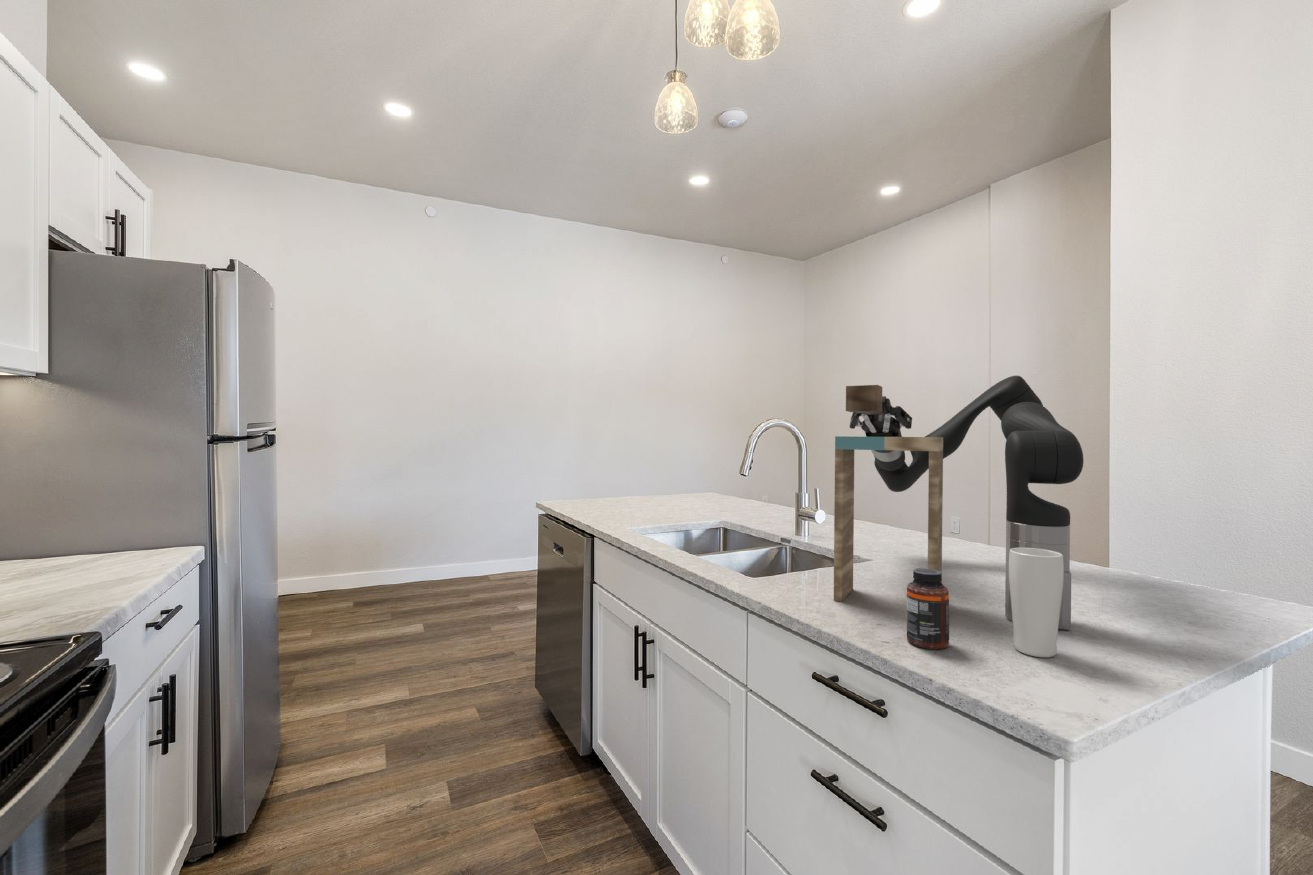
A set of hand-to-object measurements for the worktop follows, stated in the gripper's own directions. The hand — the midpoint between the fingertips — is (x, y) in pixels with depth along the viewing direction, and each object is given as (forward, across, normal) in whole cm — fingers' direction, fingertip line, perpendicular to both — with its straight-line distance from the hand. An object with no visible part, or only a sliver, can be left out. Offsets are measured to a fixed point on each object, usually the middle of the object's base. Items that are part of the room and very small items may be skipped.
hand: (873, 400), depth 120 cm
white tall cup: (+2, -28, -48) cm, 55 cm away
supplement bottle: (+7, -14, -50) cm, 53 cm away
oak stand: (-11, -5, -40) cm, 42 cm away
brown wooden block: (+1, 0, -4) cm, 4 cm away
